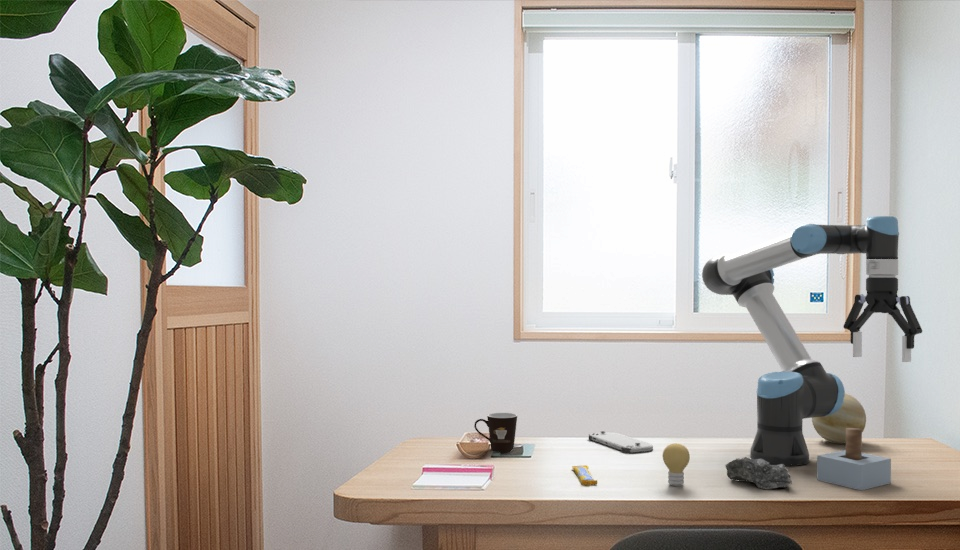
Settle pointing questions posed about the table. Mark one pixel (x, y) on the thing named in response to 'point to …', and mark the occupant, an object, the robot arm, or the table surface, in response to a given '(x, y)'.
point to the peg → (854, 443)
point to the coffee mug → (500, 431)
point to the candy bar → (584, 475)
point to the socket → (854, 470)
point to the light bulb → (676, 462)
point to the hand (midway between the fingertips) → (881, 359)
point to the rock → (758, 473)
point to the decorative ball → (841, 421)
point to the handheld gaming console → (621, 442)
